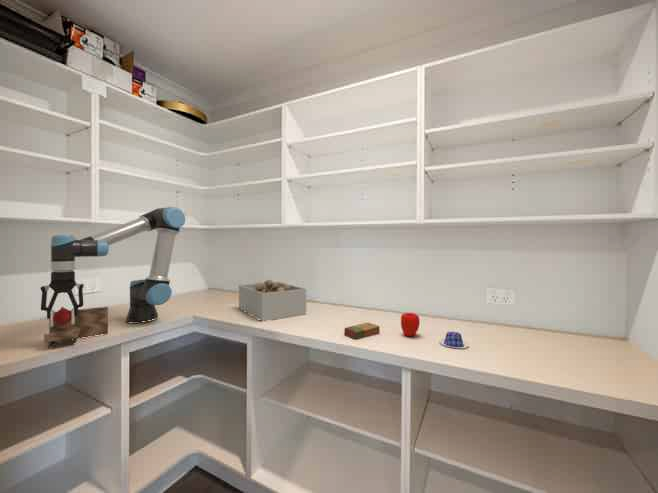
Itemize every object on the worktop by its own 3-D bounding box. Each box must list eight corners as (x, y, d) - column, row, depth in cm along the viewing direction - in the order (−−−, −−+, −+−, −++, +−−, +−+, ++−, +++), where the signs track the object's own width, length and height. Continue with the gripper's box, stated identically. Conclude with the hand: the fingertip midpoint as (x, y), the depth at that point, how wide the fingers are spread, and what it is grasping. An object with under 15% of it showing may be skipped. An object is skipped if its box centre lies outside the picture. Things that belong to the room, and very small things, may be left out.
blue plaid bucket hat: (463, 341, 130) (463, 329, 130) (473, 350, 118) (473, 338, 118) (436, 339, 132) (436, 328, 132) (443, 349, 120) (443, 336, 120)
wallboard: (107, 333, 136) (107, 306, 136) (107, 334, 134) (107, 307, 134) (50, 341, 124) (50, 312, 124) (49, 343, 123) (49, 313, 122)
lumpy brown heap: (296, 319, 163) (296, 284, 163) (251, 318, 165) (252, 283, 165) (306, 305, 201) (306, 276, 201) (269, 304, 203) (270, 276, 202)
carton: (379, 334, 139) (380, 325, 139) (355, 341, 129) (355, 331, 129) (367, 330, 146) (368, 321, 146) (343, 336, 136) (344, 327, 136)
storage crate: (278, 303, 206) (278, 281, 206) (306, 314, 175) (306, 288, 175) (238, 309, 188) (239, 285, 188) (262, 322, 158) (262, 293, 158)
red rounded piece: (416, 339, 130) (416, 316, 130) (398, 336, 135) (398, 313, 135) (421, 334, 138) (421, 312, 138) (403, 331, 142) (403, 310, 142)
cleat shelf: (79, 338, 129) (79, 324, 129) (77, 345, 120) (77, 330, 120) (49, 343, 123) (49, 328, 123) (44, 350, 114) (44, 334, 114)
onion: (74, 323, 125) (74, 305, 125) (68, 326, 120) (68, 307, 120) (57, 324, 123) (57, 305, 123) (50, 327, 118) (50, 308, 118)
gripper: (92, 269, 130) (92, 319, 130) (33, 271, 119) (33, 326, 119) (91, 270, 124) (90, 323, 124) (29, 272, 113) (29, 330, 113)
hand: (62, 324), depth 121 cm, fingers closed on onion, 6 cm apart
